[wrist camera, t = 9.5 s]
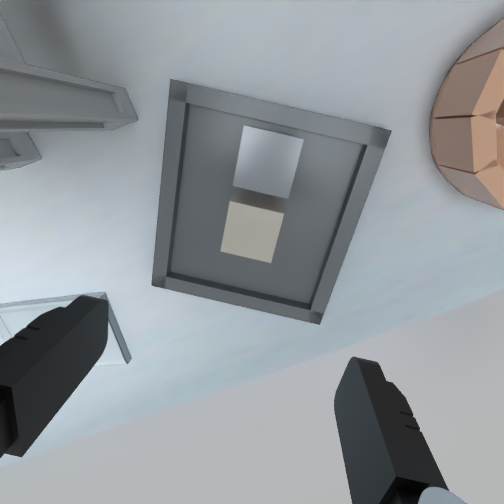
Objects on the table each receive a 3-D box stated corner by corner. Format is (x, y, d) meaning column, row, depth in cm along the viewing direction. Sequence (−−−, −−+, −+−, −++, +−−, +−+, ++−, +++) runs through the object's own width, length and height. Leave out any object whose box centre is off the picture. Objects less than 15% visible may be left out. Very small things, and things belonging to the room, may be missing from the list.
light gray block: (251, 125, 22) (243, 125, 18) (299, 136, 22) (304, 139, 18) (241, 175, 23) (232, 185, 19) (286, 186, 23) (288, 198, 19)
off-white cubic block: (238, 188, 24) (229, 201, 19) (283, 198, 24) (284, 213, 19) (230, 230, 25) (220, 251, 21) (272, 240, 25) (270, 263, 21)
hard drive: (99, 297, 28) (-16, 310, 30) (127, 366, 31) (21, 374, 33) (108, 288, 29) (-2, 301, 31) (134, 354, 32) (33, 363, 34)
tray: (177, 81, 21) (170, 79, 20) (385, 130, 21) (391, 130, 20) (157, 278, 28) (151, 285, 26) (317, 315, 28) (319, 324, 26)
